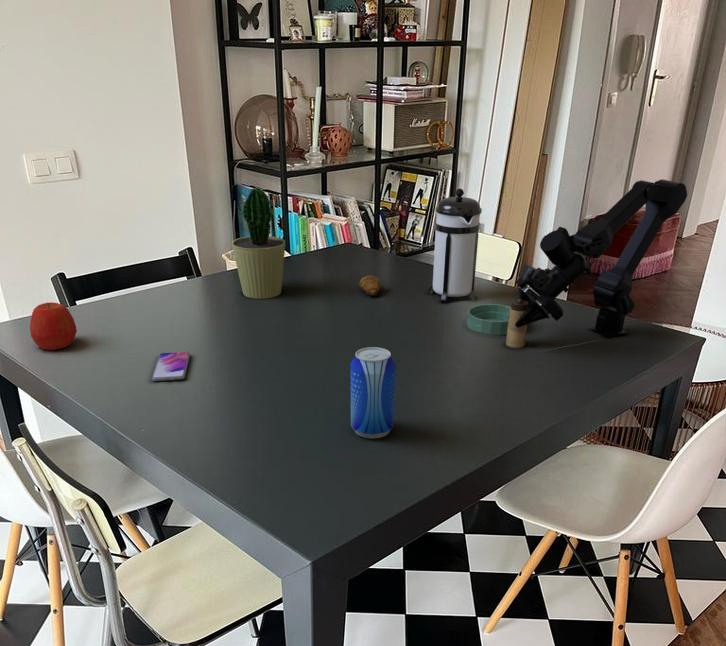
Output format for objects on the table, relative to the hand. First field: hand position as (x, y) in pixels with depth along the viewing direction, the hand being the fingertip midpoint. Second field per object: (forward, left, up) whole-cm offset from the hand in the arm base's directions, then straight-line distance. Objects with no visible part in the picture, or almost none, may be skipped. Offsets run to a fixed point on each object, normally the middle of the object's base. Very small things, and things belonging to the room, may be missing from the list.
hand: (512, 322), depth 179 cm
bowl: (-4, -13, -6) cm, 15 cm away
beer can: (+51, +26, -6) cm, 57 cm away
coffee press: (-7, -42, -6) cm, 43 cm away
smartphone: (+80, -21, -6) cm, 82 cm away
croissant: (+13, -55, -6) cm, 56 cm away
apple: (+102, -47, -6) cm, 113 cm away
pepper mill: (-1, 0, -6) cm, 6 cm away
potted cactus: (+43, -67, -6) cm, 79 cm away
